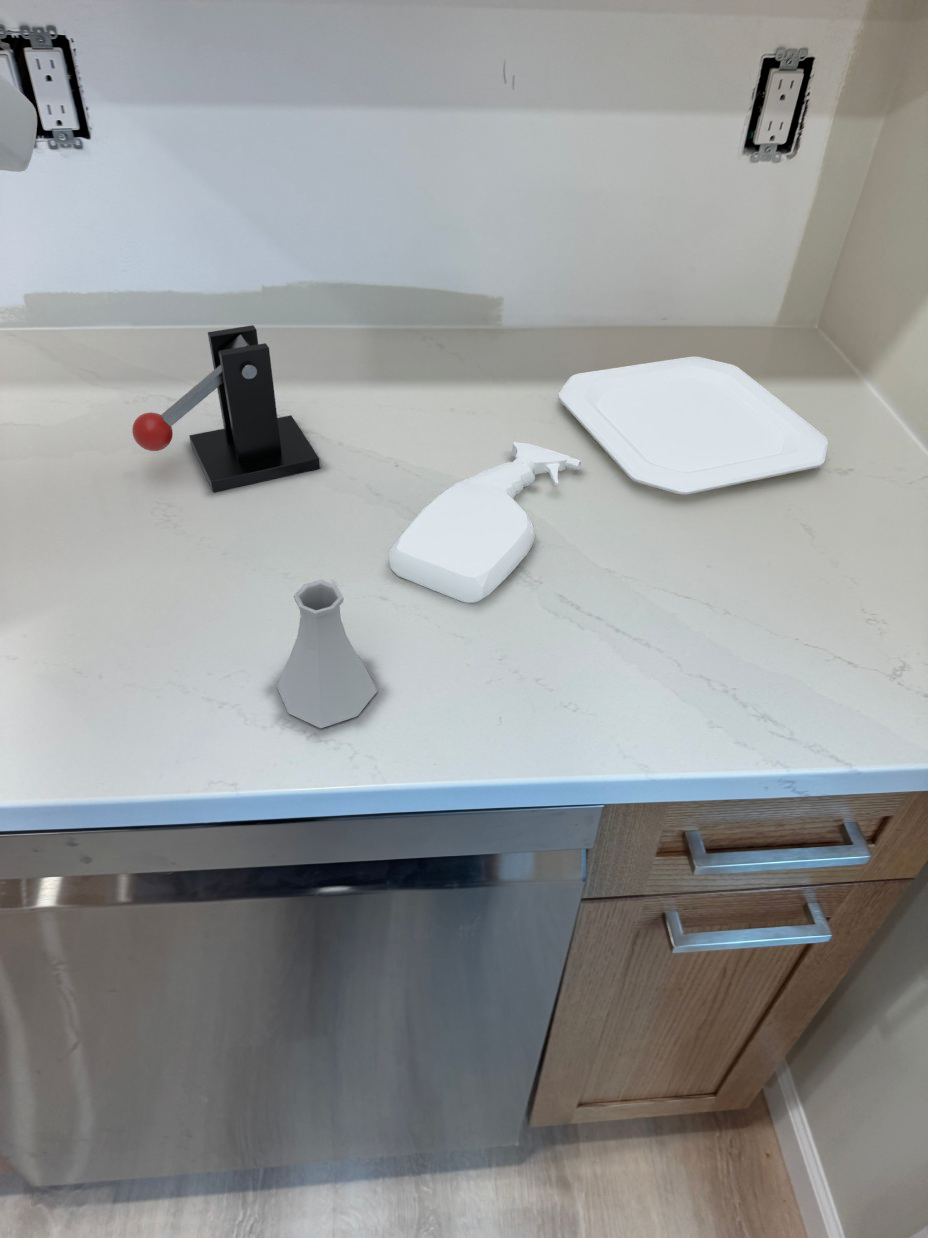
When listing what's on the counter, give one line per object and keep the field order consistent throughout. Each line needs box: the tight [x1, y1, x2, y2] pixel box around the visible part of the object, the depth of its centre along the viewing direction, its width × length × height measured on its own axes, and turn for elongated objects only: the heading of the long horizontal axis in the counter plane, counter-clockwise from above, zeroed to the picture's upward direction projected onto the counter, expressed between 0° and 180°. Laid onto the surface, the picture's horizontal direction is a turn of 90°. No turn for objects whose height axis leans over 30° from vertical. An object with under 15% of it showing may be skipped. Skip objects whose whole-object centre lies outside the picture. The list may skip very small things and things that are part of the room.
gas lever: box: [131, 335, 251, 452], centre depth 78 cm, size 14×4×4 cm
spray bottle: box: [387, 441, 582, 604], centre depth 79 cm, size 3×11×25 cm
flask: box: [276, 579, 378, 729], centre depth 60 cm, size 7×7×10 cm
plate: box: [557, 355, 829, 496], centre depth 92 cm, size 25×25×2 cm
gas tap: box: [188, 324, 321, 493], centre depth 81 cm, size 11×9×13 cm
